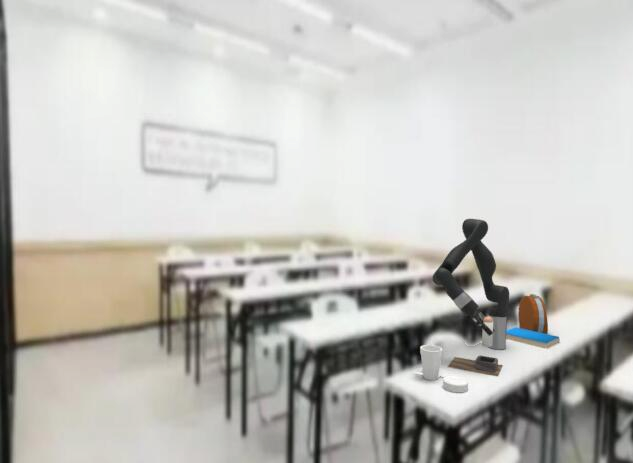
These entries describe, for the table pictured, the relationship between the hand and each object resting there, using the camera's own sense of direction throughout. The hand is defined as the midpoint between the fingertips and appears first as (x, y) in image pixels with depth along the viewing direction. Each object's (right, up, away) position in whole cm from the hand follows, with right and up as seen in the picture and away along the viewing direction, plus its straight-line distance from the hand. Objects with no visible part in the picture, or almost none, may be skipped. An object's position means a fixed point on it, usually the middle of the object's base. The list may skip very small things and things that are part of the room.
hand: (492, 333), depth 204 cm
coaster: (-22, -19, -17) cm, 34 cm away
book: (+41, -16, +49) cm, 66 cm away
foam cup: (-30, -18, -6) cm, 35 cm away
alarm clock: (+51, -15, +67) cm, 86 cm away
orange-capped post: (-2, -6, +1) cm, 6 cm away
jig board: (-6, -18, +5) cm, 19 cm away
